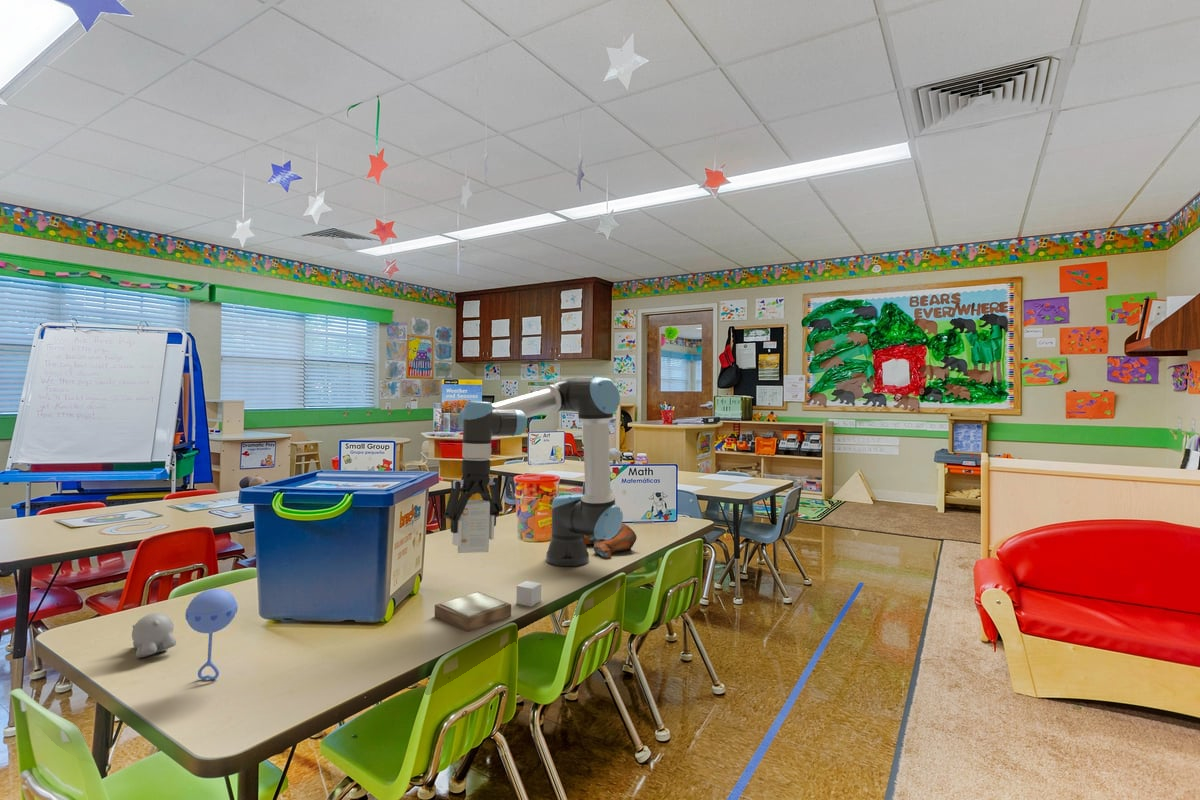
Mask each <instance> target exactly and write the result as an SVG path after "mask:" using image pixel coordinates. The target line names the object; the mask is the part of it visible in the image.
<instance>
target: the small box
mask: <svg viewBox="0 0 1200 800" xmlns="http://www.w3.org/2000/svg"><path fill="white" fill-rule="evenodd" d="M459 520H461V521H462V527H461V546H457V553H458V554H471V553H473V554H475V553H489V548H490V547H489V546H490V539H489V522H490V503H489V501H486V500H483V499H469V500H468V502H467V504H466V506H465V508H464V510H463V512H462V514H461V516H460V518H459Z"/></svg>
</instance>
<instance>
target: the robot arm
mask: <svg viewBox="0 0 1200 800" xmlns="http://www.w3.org/2000/svg"><path fill="white" fill-rule="evenodd" d="M620 401H621V397H620V392H619V389H618V386H617V385H616V384H615V382H614V381H613V380H612V379H610V378H607V377H571V378H567V379H563V380H560V381H556V382H554V383H550V384H547V385H545V386H543V387H542V389H540V390H536V391H533V392H528V393H525V394H522V395H518V396H515V397H511V398H507V399H503V400H499V401H496V402H493V403H492V402H490V401H473V400H472V401H471V400H470V401H466V402H465V403H464V408H463V409H462V410H460V412H459V414H458V416H457V424H458V426H459V428H460V429H461V430H462V454H461V456H462V458H463V459H462V460H461V474H462V477H461V479H460V480H456V479H455V480H454V479H453V480H451V482H450V483H451V490H450V494H449V496H448V500H447V503H446V507H445V511H444V514H443V517H444V518H445V519H449V520H450V533H452V546H453V545H454V546H457V547H458V546H461V527H462V521H461V520H459V518H460V516H461V514H462V512H463V510H464V508H465V506H466V504H467V502H468V500H470V498H471V497H472V496H473V495H476V494H479V495H480V496H481V500H486V501H489V503H490V522H489V540H491V541H492V540H495V537H494V535H495V527H496V525H497V516H499V515H500V513H502V512H503V510H504V508H503V505H502V499H501V494H500V489H499V477H496V476H490V473H491V460H490V458H492V437H510V436H511V437H515V436H521V435H522V434H524V432H525V431H526V429H527V427H528V418H531V417H535V416H537V415H540V414H544V413H547V412H548V413H551V414H552V413H553V414H554V413H555V414H556V413H557V412H576V413H578V414H577V416H578V417H577V419H578V420H579V421H580V423H582V432H583V433H582V434H583V463H584V465H583V467H584V468H583V470H584V494H581V493H579V494H577V493H576V494H565V495H559V496H556V497H554V498H553V500H552V507H551V539H550V542H549V545H548V549H547V552H546V555H545V562H546V563H548V564H550V565H553V566H557V567H579V566H582V565H585V564H588V563H589V562H590V561H589V560H590V554H589V552H588V548H587V545H586V543H585V539H584V535H586V536H590V537H594V538H596V539H605V540H608V539H611V538H613V537H614V536H615V535H616V534H617V533H618V531H619V529H620V527H621V525H622V523H623V519H624V514H623V510H622V508H621V507H620V506H618V505H617V504H616V497H615V496H614V495H613V494H612V493H611V464H610V463H611V462H610V461H611V460H610V429H609V428H610V427H609V426H610V425H609V423H610V422H611V420H612V419H613V418H614V413H615V412H616V411H617V410H618V408H619V406H620V403H621V402H620ZM488 485H489V488H488Z"/></svg>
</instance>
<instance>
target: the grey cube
mask: <svg viewBox="0 0 1200 800" xmlns="http://www.w3.org/2000/svg"><path fill="white" fill-rule="evenodd" d="M515 595H516V596H515V597H516V599H515V600H516V602H515V603H516V604H519V605H523V606H527V607H533V606H535V605H536V604H538V603H540V602H541V601H542V583H540V582H535V581H530V580H525V581H523V582H521V583H519V584H517V585H516V594H515Z"/></svg>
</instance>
